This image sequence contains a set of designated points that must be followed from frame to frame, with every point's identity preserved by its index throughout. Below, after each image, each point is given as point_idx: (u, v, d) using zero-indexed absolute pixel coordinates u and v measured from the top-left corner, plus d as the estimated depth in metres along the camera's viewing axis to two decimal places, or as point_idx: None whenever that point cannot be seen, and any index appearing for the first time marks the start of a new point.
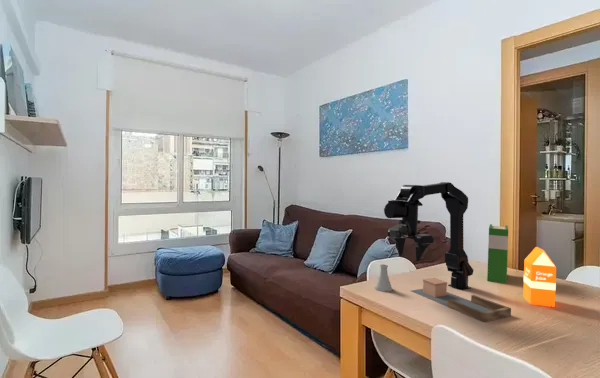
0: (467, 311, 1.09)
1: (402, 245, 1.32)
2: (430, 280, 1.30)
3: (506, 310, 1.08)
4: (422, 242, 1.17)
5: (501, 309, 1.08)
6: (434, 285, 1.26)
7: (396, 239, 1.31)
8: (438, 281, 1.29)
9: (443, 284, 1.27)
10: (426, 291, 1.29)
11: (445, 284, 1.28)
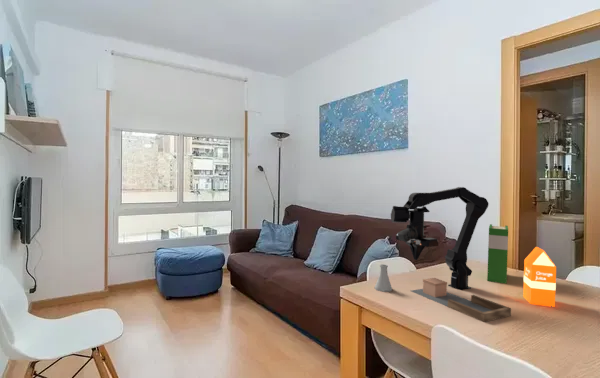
0: (467, 311, 1.09)
1: None
2: (430, 280, 1.30)
3: (506, 310, 1.08)
4: (428, 245, 1.29)
5: (501, 309, 1.08)
6: (434, 285, 1.26)
7: (411, 244, 1.39)
8: (438, 281, 1.29)
9: (443, 284, 1.27)
10: (426, 291, 1.29)
11: (445, 284, 1.28)
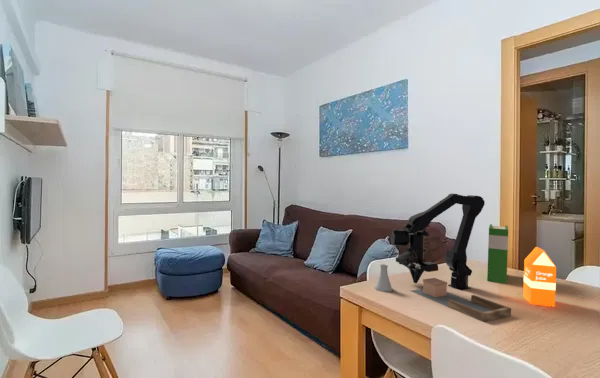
0: (467, 311, 1.09)
1: None
2: (430, 280, 1.30)
3: (506, 310, 1.08)
4: (428, 270, 1.29)
5: (501, 309, 1.08)
6: (434, 285, 1.26)
7: (411, 267, 1.39)
8: (438, 281, 1.29)
9: (443, 284, 1.27)
10: (426, 291, 1.29)
11: (445, 284, 1.28)
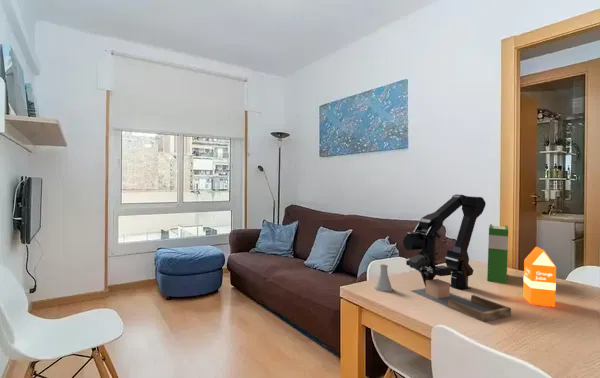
0: (467, 311, 1.09)
1: None
2: (433, 281, 1.29)
3: (506, 310, 1.08)
4: (441, 274, 1.24)
5: (501, 309, 1.08)
6: (437, 286, 1.25)
7: None
8: (441, 282, 1.27)
9: (446, 285, 1.26)
10: (429, 293, 1.28)
11: (448, 285, 1.26)
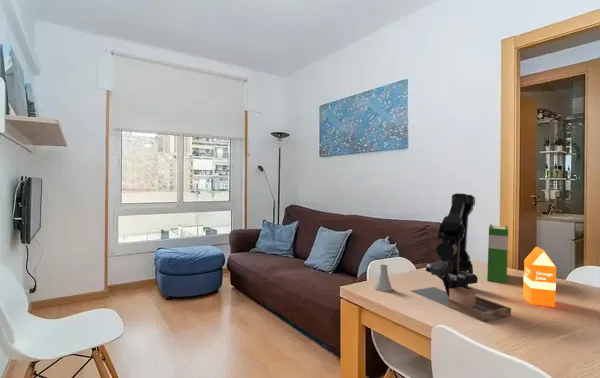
0: (467, 311, 1.09)
1: None
2: (457, 289, 1.19)
3: (506, 310, 1.08)
4: (466, 282, 1.14)
5: (501, 309, 1.08)
6: (462, 295, 1.15)
7: (445, 278, 1.23)
8: (466, 291, 1.18)
9: (472, 294, 1.16)
10: None
11: (474, 294, 1.17)
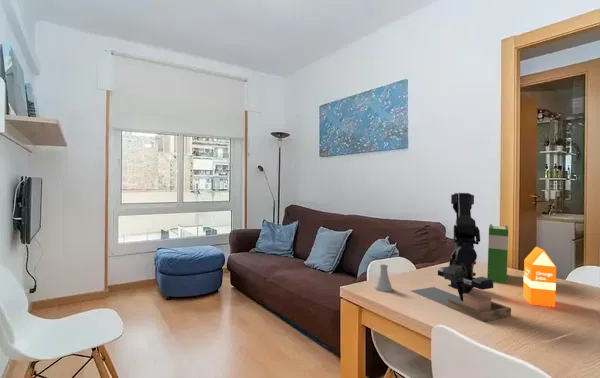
0: (467, 311, 1.09)
1: None
2: (471, 294, 1.14)
3: (506, 310, 1.08)
4: (482, 288, 1.08)
5: (501, 309, 1.08)
6: (477, 301, 1.10)
7: (458, 283, 1.18)
8: (481, 296, 1.13)
9: (487, 299, 1.11)
10: None
11: (489, 299, 1.12)
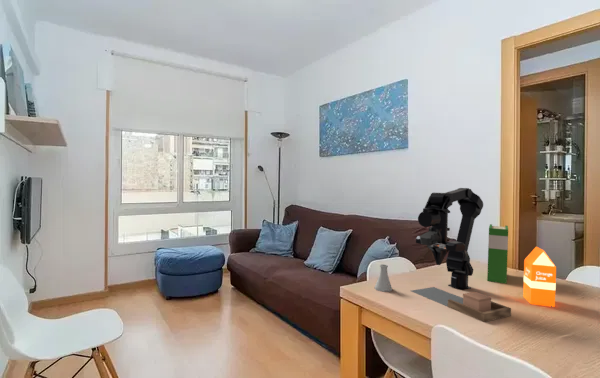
0: (467, 311, 1.09)
1: None
2: (471, 294, 1.14)
3: (506, 310, 1.08)
4: (455, 250, 1.19)
5: (501, 309, 1.08)
6: (477, 301, 1.10)
7: (434, 248, 1.29)
8: (481, 296, 1.13)
9: (487, 299, 1.11)
10: None
11: (489, 299, 1.12)
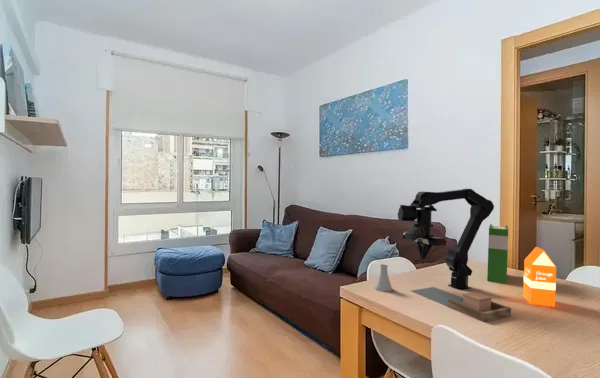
0: (467, 311, 1.09)
1: None
2: (471, 294, 1.14)
3: (506, 310, 1.08)
4: (436, 244, 1.28)
5: (501, 309, 1.08)
6: (477, 301, 1.10)
7: (418, 243, 1.38)
8: (481, 296, 1.13)
9: (487, 299, 1.11)
10: None
11: (489, 299, 1.12)
